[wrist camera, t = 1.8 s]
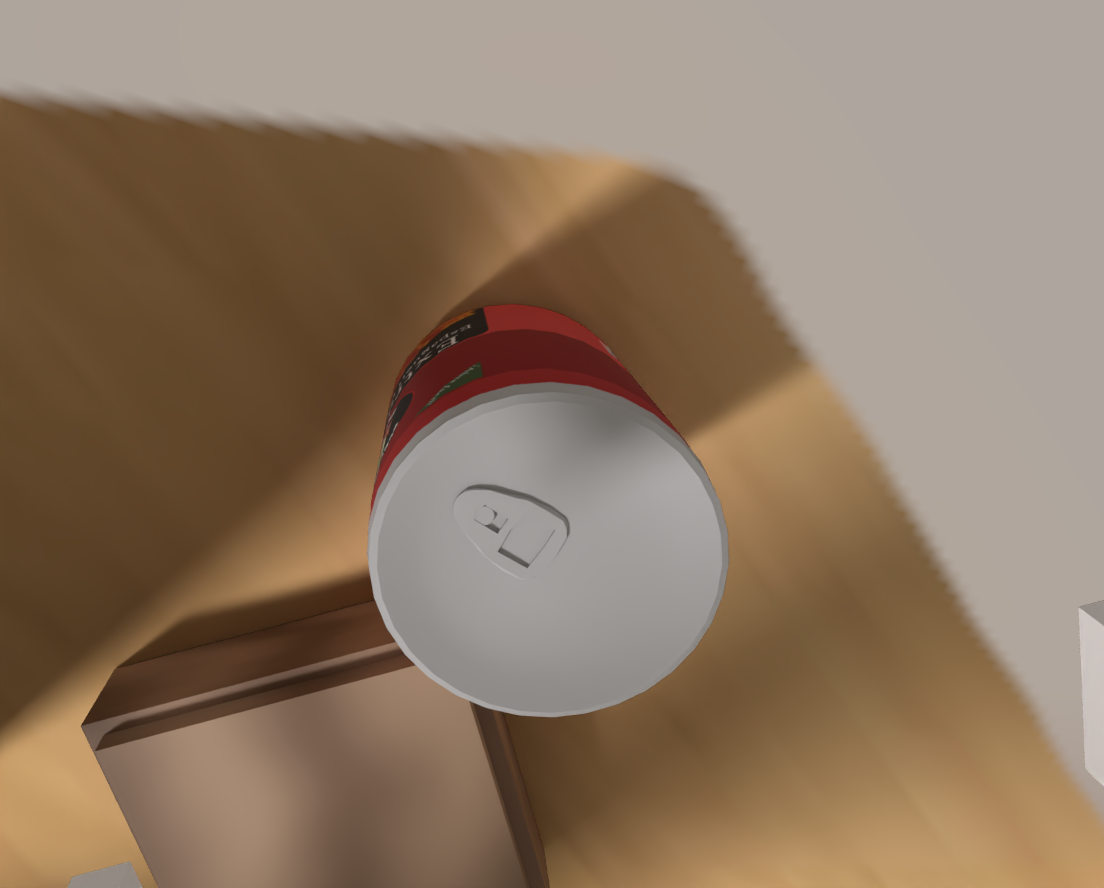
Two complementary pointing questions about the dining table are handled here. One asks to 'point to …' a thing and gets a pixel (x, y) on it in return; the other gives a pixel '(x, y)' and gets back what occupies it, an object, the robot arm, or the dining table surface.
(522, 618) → the canned food
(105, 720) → the plinth
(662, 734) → the dining table surface
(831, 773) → the dining table surface
